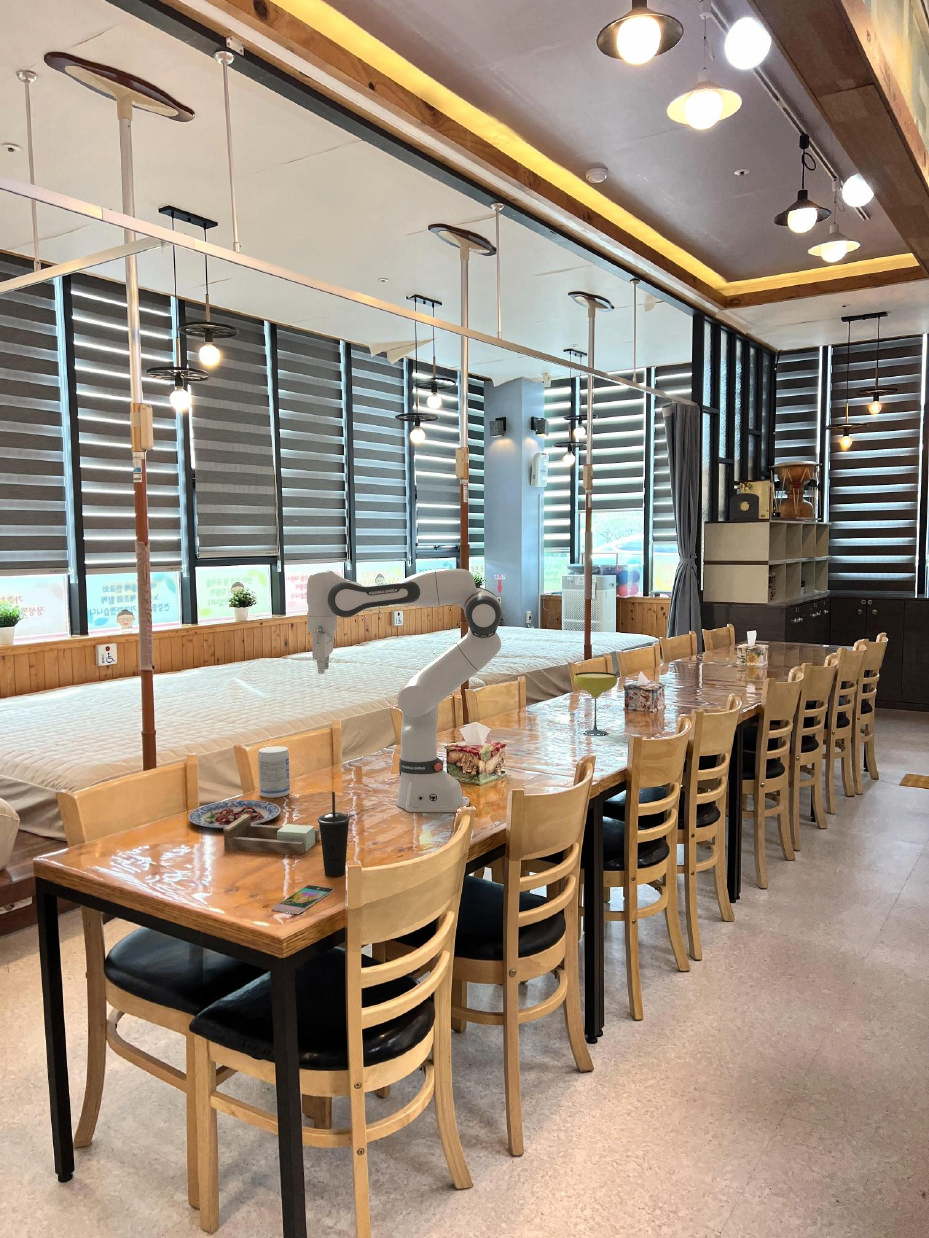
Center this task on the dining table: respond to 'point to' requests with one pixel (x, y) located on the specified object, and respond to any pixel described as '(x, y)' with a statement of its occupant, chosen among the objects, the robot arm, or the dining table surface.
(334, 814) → the drinking cup
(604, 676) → the cocktail glass
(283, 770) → the supplement tub
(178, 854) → the dining table surface
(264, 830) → the bay
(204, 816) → the ceramic plate
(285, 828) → the pale green block
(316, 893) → the smartphone
